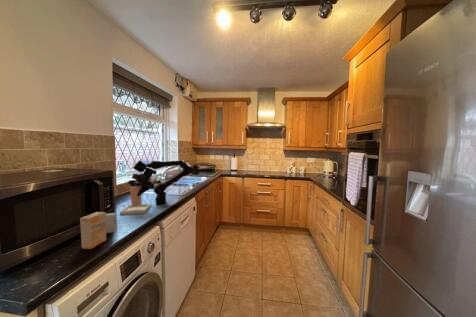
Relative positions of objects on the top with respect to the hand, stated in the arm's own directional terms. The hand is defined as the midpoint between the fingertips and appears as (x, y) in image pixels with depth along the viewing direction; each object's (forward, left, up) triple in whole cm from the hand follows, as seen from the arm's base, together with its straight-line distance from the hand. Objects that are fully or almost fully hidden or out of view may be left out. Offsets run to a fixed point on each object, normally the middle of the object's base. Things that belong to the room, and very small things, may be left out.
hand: (134, 195), depth 130 cm
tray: (-1, -1, -10) cm, 10 cm away
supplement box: (+1, +45, -11) cm, 46 cm away
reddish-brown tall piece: (-1, -1, -7) cm, 7 cm away
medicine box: (+2, +32, -11) cm, 34 cm away
